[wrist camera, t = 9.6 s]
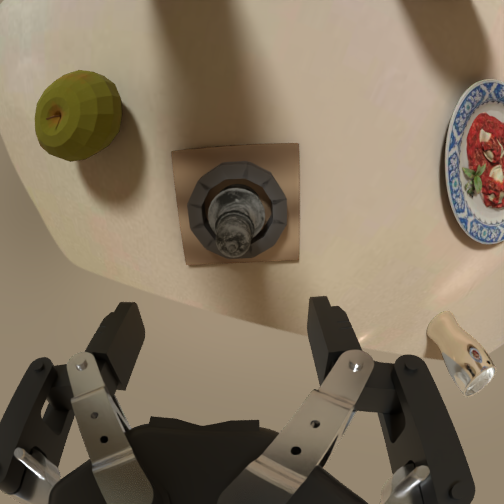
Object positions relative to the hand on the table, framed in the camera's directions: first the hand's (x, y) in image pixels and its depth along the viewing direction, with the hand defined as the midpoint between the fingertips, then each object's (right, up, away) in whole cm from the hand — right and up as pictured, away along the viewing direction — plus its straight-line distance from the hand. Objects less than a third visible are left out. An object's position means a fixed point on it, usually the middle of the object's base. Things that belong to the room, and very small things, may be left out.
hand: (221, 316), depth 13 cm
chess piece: (0, +8, +20) cm, 22 cm away
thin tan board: (0, +8, +21) cm, 22 cm away
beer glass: (+35, -10, +30) cm, 47 cm away
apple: (-17, +19, +16) cm, 30 cm away
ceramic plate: (+38, +17, +18) cm, 45 cm away
